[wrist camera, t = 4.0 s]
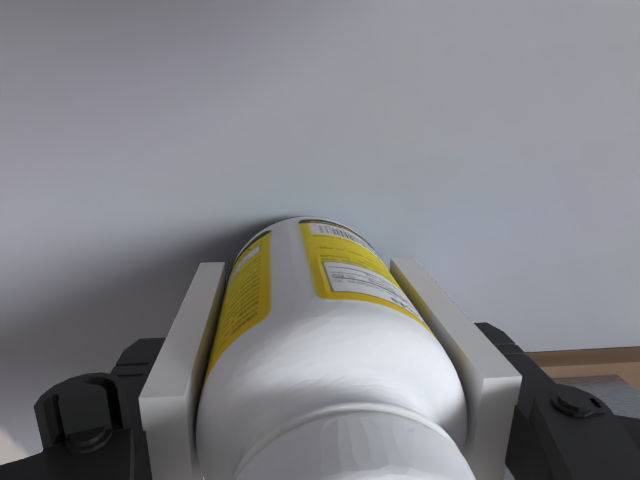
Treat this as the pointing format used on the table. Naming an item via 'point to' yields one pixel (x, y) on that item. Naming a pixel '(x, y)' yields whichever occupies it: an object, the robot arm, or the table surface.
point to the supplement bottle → (325, 369)
